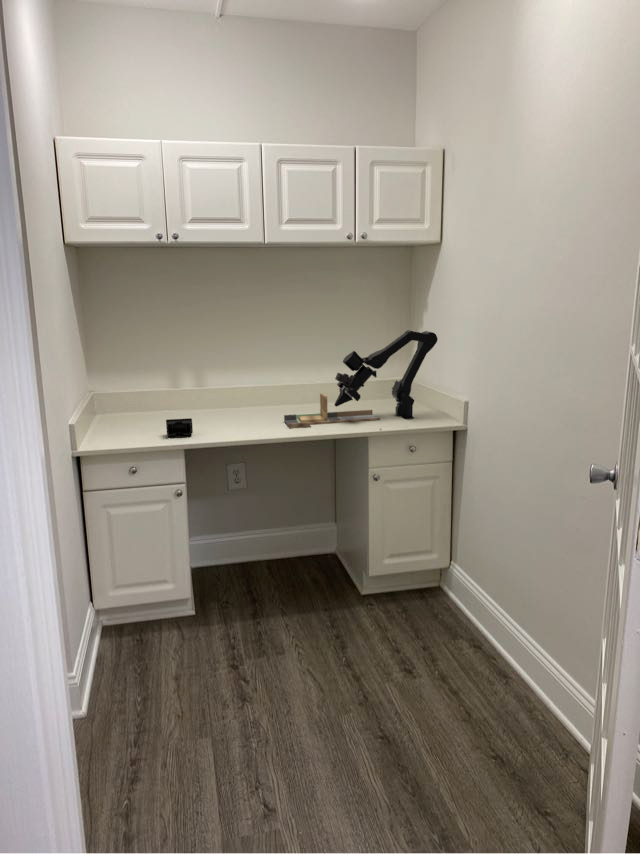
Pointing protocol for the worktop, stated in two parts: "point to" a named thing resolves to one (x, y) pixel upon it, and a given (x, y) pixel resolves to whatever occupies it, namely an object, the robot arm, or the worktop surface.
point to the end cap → (179, 428)
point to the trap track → (332, 416)
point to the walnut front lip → (328, 422)
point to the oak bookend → (323, 412)
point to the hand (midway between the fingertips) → (335, 405)
